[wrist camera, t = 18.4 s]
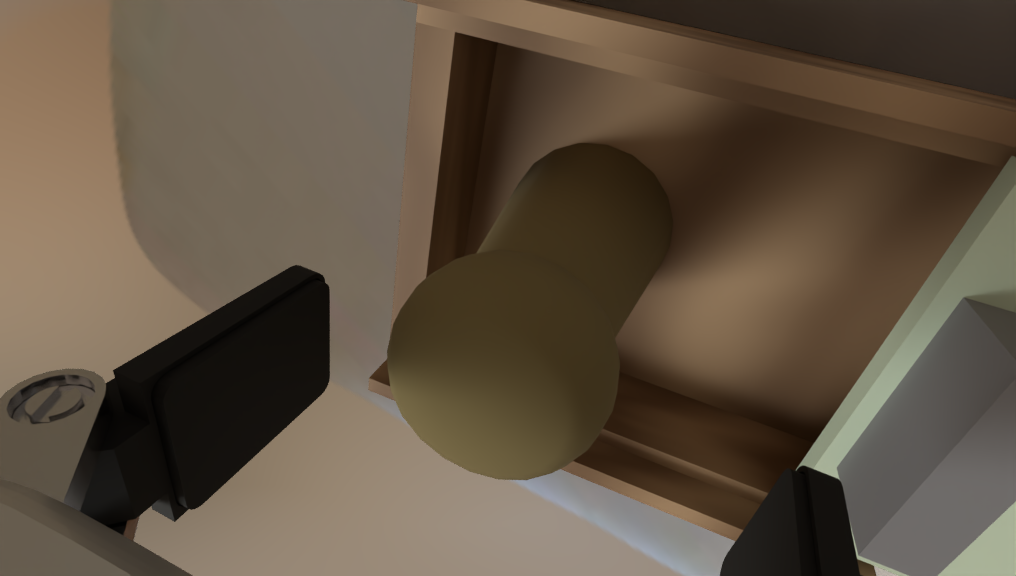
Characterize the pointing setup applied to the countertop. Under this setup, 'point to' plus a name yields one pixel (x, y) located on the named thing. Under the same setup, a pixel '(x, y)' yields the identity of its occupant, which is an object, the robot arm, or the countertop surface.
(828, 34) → the countertop surface
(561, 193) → the cork
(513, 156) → the wooden drawer box
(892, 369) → the lid
